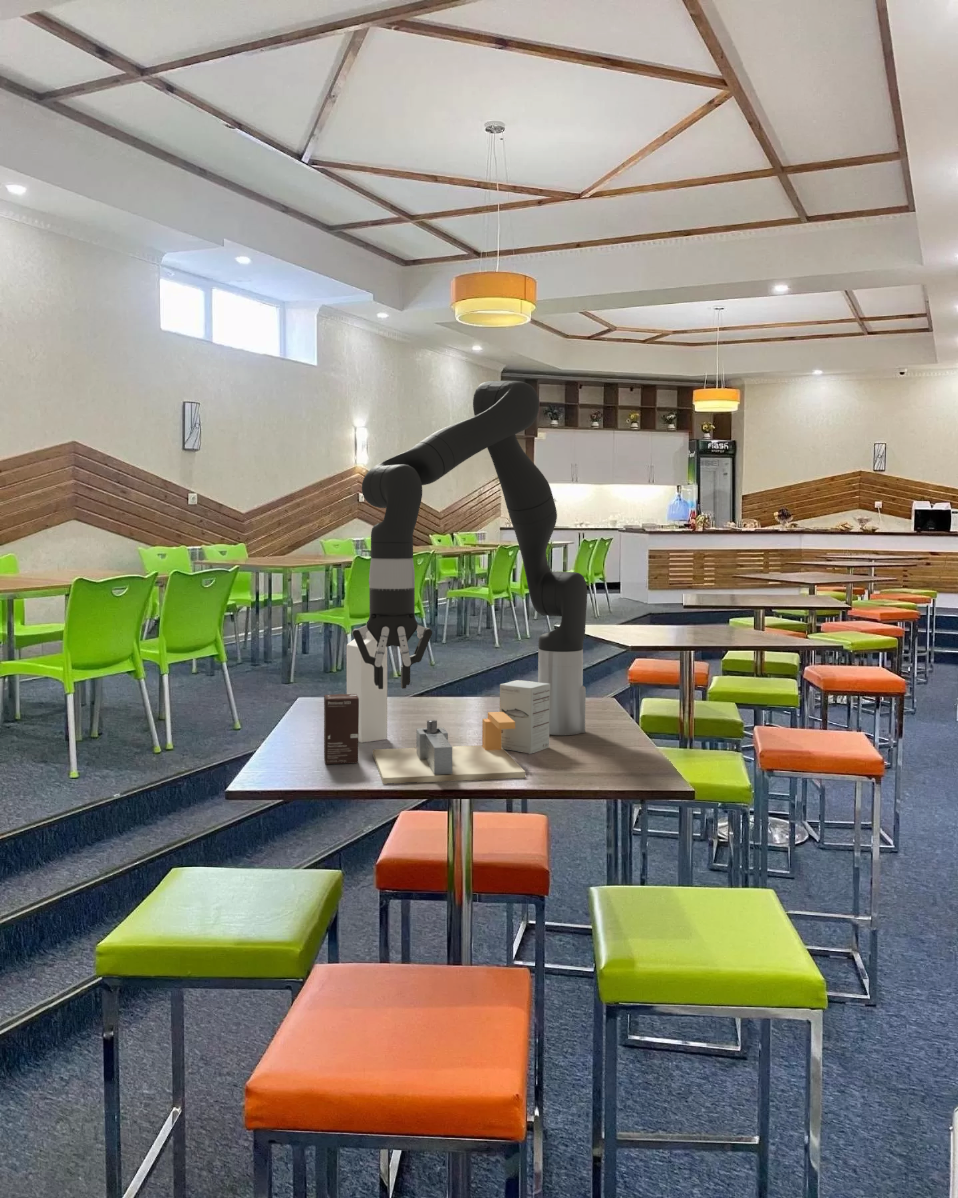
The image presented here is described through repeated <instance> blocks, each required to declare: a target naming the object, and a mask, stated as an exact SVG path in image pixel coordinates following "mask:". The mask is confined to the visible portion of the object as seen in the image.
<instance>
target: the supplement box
mask: <svg viewBox="0 0 958 1198" xmlns="http://www.w3.org/2000/svg"><path fill="white" fill-rule="evenodd" d="M498 708H499V711H498V712H504V713H505V714H506V715H508V716H509V717H510V718H511V719H512V720H513V721H515V729H501V747H502V748H503V749H504V750H508V751H514V752H518V753H526V754H530V755H531V754H535V753H538V752H540V751H542V750H543V751H544V750H546V749H548V748H549V747H550V734H549V721H550V684H548V683H539V682H538V681H532V680H531V681H529V680H521V679H520V680H519V679H517V680H512V681H509V682H505V683H500V684H499V707H498Z"/></svg>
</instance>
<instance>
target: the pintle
mask: <svg viewBox="0 0 958 1198" xmlns="http://www.w3.org/2000/svg"><path fill="white" fill-rule="evenodd" d="M426 728H427V733H435V732H437V728H438V720H437V719H428V720H426Z"/></svg>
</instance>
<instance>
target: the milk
mask: <svg viewBox="0 0 958 1198" xmlns="http://www.w3.org/2000/svg"><path fill="white" fill-rule="evenodd" d="M366 636H367V638H366V639H365V640H363V641H364V643H365V645H366V648H367V650H368V653H369V655H370V656H373V657H375V652H376V646H377V641H376V640H375V638H374V637H373V636H372V634H371V633H370V632H369V631H368V632H367V633H366ZM382 667H383V689H378V686H376V685H375V683H374V666H373V665H371V664H368V663H365V662H364V660H363V658H362V655H361V653H360V651H359V648H358V646H357V643H356V641H355V639H352V640H351V641H349V642H348V643H347V644H346V694H357V696H358V698H359V725H358V743H361V744H365V743H369V742H377V741H383V740H388V647H386V648H385V653H384V657H383V661H382Z"/></svg>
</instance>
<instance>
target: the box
mask: <svg viewBox="0 0 958 1198" xmlns="http://www.w3.org/2000/svg"><path fill="white" fill-rule="evenodd" d="M323 709H324V710H323V717H324V718H323V720H324V721H323V759H324V760H323V761H324V764H325V765H334V764H335V765H338V764H358V763H359V742H358V725H359V698H358V696H357V694H347V693H337V694H336V693H335V694H324V695H323Z"/></svg>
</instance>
